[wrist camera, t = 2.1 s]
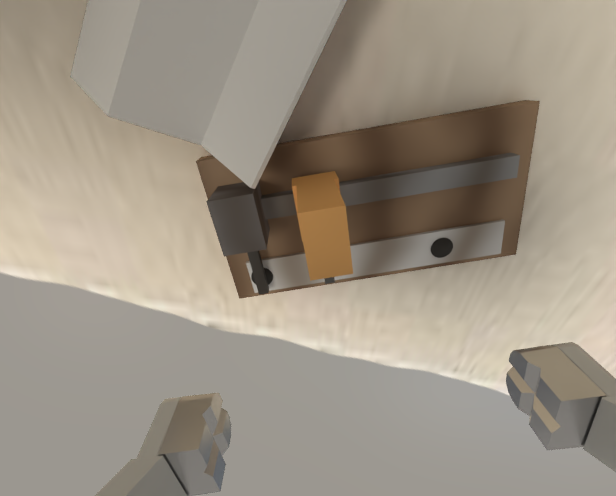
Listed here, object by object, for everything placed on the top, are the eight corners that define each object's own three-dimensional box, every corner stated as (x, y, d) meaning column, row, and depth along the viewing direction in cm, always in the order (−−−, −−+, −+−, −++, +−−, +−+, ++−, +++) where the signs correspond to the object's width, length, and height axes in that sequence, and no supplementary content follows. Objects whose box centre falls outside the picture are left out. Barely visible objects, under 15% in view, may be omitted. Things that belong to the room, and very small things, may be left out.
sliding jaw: (311, 281, 27) (317, 348, 20) (291, 176, 23) (291, 214, 16) (347, 275, 27) (365, 340, 20) (333, 168, 22) (351, 204, 16)
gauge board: (241, 288, 29) (233, 325, 25) (201, 157, 24) (180, 173, 19) (505, 246, 28) (544, 276, 24) (525, 100, 23) (581, 103, 19)
